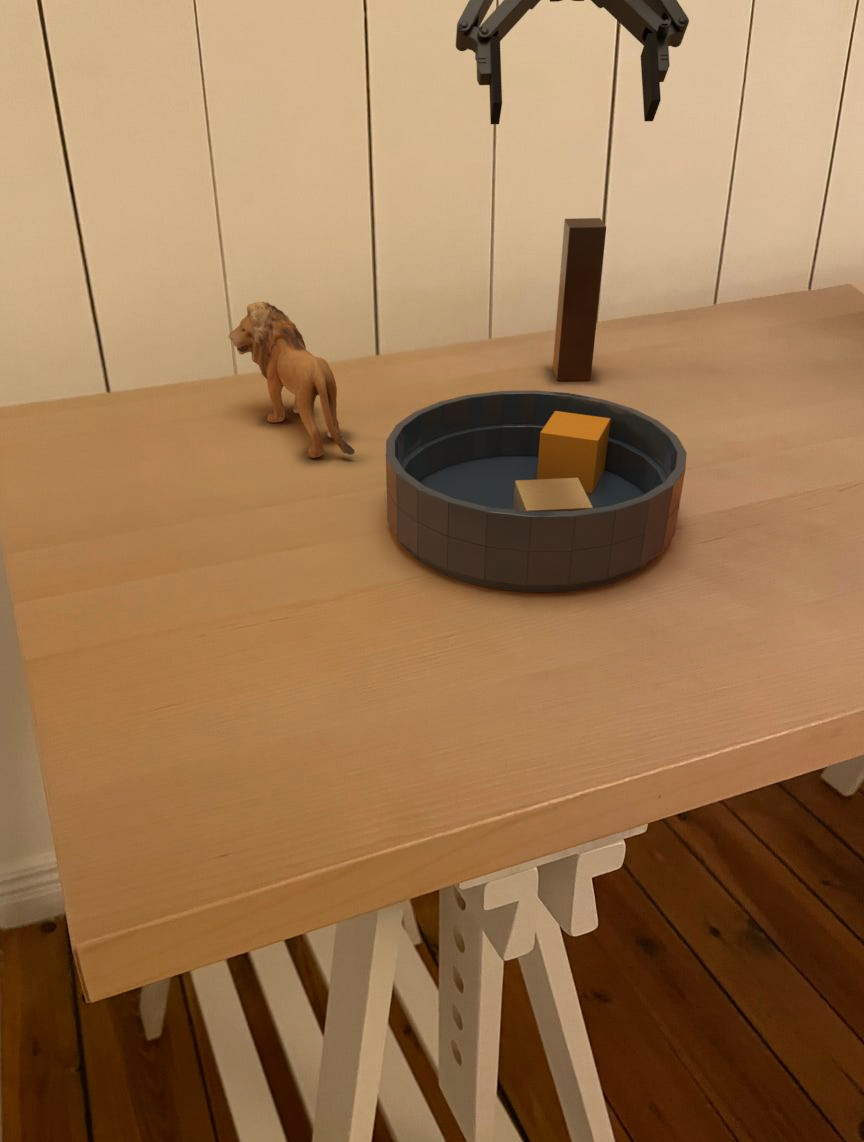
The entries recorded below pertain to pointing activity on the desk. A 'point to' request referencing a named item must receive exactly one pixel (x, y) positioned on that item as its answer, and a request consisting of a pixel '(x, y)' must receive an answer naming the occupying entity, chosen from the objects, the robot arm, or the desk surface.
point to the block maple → (550, 495)
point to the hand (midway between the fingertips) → (574, 112)
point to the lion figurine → (290, 370)
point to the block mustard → (574, 448)
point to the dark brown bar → (578, 298)
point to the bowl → (509, 453)
